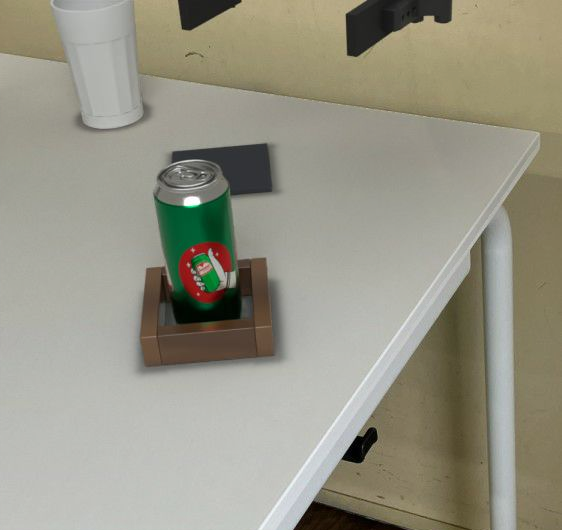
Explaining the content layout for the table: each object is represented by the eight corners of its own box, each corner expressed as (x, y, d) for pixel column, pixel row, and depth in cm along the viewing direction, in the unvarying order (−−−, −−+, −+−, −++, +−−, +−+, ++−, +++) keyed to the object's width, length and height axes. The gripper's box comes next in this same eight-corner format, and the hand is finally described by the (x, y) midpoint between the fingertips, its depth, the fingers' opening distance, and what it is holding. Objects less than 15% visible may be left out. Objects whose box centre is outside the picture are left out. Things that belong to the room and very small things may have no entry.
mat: (173, 155, 96) (172, 151, 95) (267, 146, 96) (267, 142, 95) (170, 200, 89) (169, 196, 88) (272, 191, 89) (271, 187, 88)
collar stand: (151, 295, 77) (146, 267, 75) (268, 284, 77) (266, 256, 75) (145, 367, 70) (139, 337, 68) (274, 355, 70) (271, 326, 68)
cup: (119, 137, 99) (97, 15, 92) (58, 124, 103) (32, 5, 96) (167, 106, 105) (149, -11, 97) (107, 95, 108) (86, -20, 101)
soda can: (193, 299, 76) (171, 153, 68) (255, 310, 74) (239, 160, 67) (163, 338, 72) (136, 187, 65) (227, 349, 71) (208, 196, 63)
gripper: (552, 1, 78) (430, 105, 64) (282, -31, 89) (130, 52, 76) (562, -104, 73) (432, -15, 60) (275, -123, 85) (112, -52, 71)
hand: (263, 23), depth 68 cm, fingers open, 13 cm apart
